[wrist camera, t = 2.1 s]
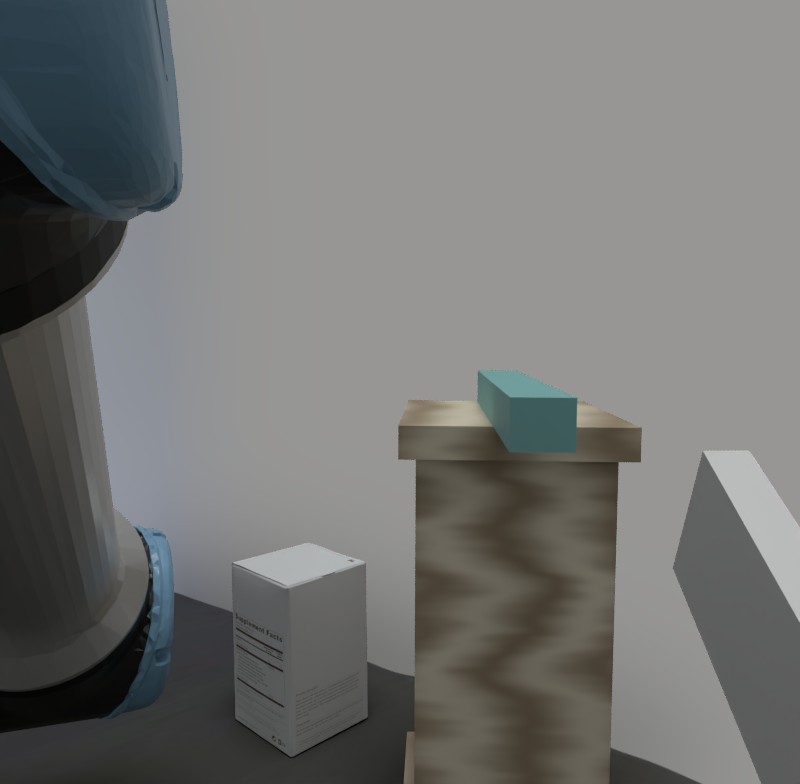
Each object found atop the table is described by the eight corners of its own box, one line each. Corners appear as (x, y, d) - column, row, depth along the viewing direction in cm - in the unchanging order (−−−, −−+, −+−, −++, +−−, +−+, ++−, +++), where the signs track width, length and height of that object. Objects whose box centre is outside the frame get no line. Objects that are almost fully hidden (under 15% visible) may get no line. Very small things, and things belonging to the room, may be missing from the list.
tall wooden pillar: (397, 906, 44) (398, 425, 41) (407, 754, 60) (408, 400, 57) (626, 916, 43) (641, 427, 41) (574, 759, 59) (583, 401, 57)
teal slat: (509, 452, 32) (510, 397, 32) (477, 402, 56) (478, 370, 56) (575, 452, 32) (577, 397, 32) (515, 402, 56) (516, 370, 56)
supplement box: (310, 685, 72) (309, 539, 70) (370, 719, 65) (369, 560, 64) (231, 719, 65) (228, 560, 64) (289, 760, 59) (287, 585, 58)
